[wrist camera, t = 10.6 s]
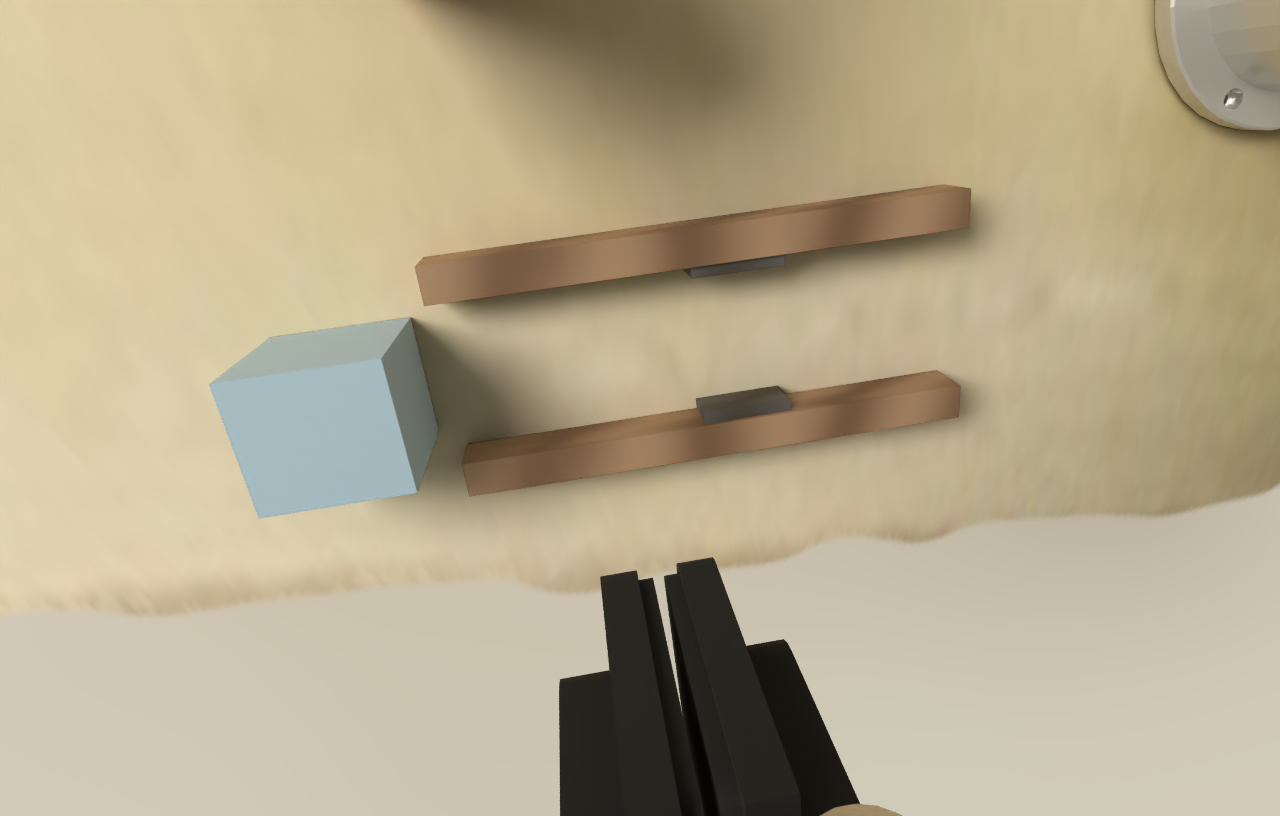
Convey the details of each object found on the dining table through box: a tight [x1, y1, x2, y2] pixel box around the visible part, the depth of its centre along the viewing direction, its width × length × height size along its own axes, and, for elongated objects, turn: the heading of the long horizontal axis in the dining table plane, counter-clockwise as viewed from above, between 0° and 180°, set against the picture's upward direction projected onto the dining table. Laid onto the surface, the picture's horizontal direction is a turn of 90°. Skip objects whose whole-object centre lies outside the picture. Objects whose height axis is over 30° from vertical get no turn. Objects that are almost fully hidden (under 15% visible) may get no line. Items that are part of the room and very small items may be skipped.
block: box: [209, 317, 439, 518], centre depth 29 cm, size 6×6×6 cm
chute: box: [415, 185, 971, 496], centre depth 32 cm, size 23×10×2 cm, turn 97°
